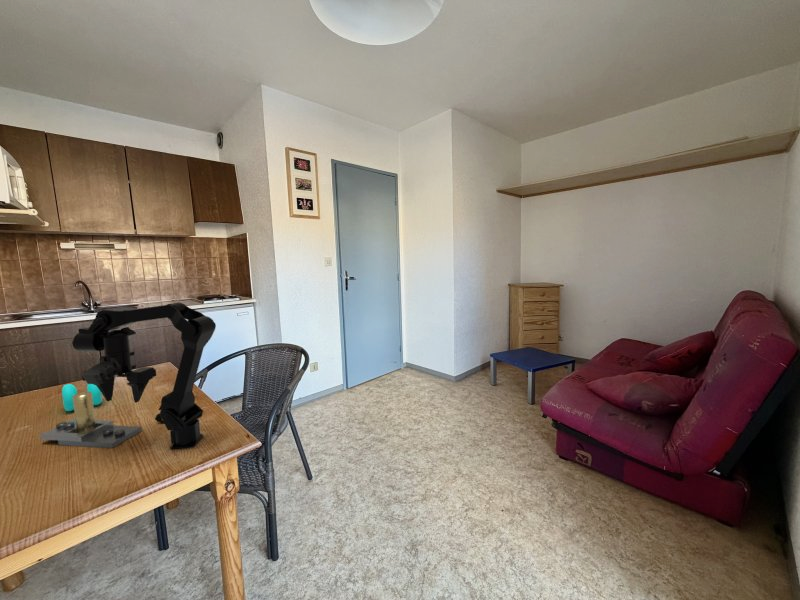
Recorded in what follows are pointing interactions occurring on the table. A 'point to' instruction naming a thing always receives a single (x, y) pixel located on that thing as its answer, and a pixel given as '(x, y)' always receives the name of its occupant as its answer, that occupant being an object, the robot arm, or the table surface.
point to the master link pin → (84, 412)
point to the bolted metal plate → (91, 434)
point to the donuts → (71, 390)
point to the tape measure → (159, 418)
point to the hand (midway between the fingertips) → (123, 401)
